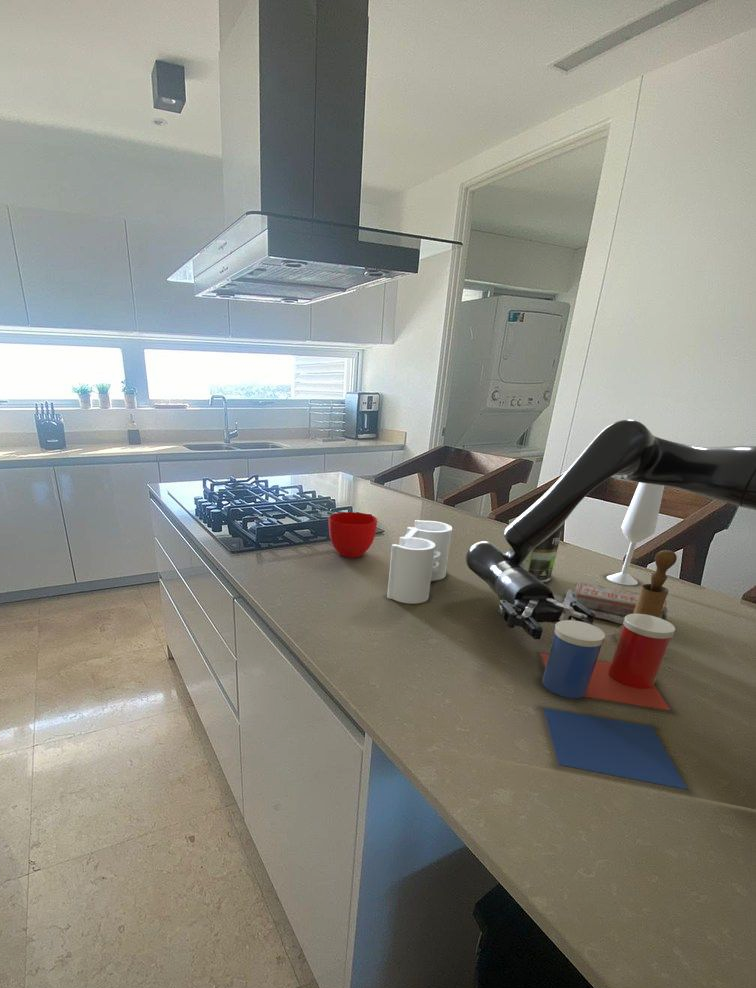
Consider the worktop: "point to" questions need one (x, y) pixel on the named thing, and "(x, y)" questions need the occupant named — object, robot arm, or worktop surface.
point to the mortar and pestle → (655, 587)
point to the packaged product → (606, 601)
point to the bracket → (418, 561)
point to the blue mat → (611, 748)
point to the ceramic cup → (352, 532)
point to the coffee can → (543, 557)
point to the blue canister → (572, 658)
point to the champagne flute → (639, 524)
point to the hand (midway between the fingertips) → (566, 634)
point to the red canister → (640, 650)
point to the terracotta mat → (619, 689)
